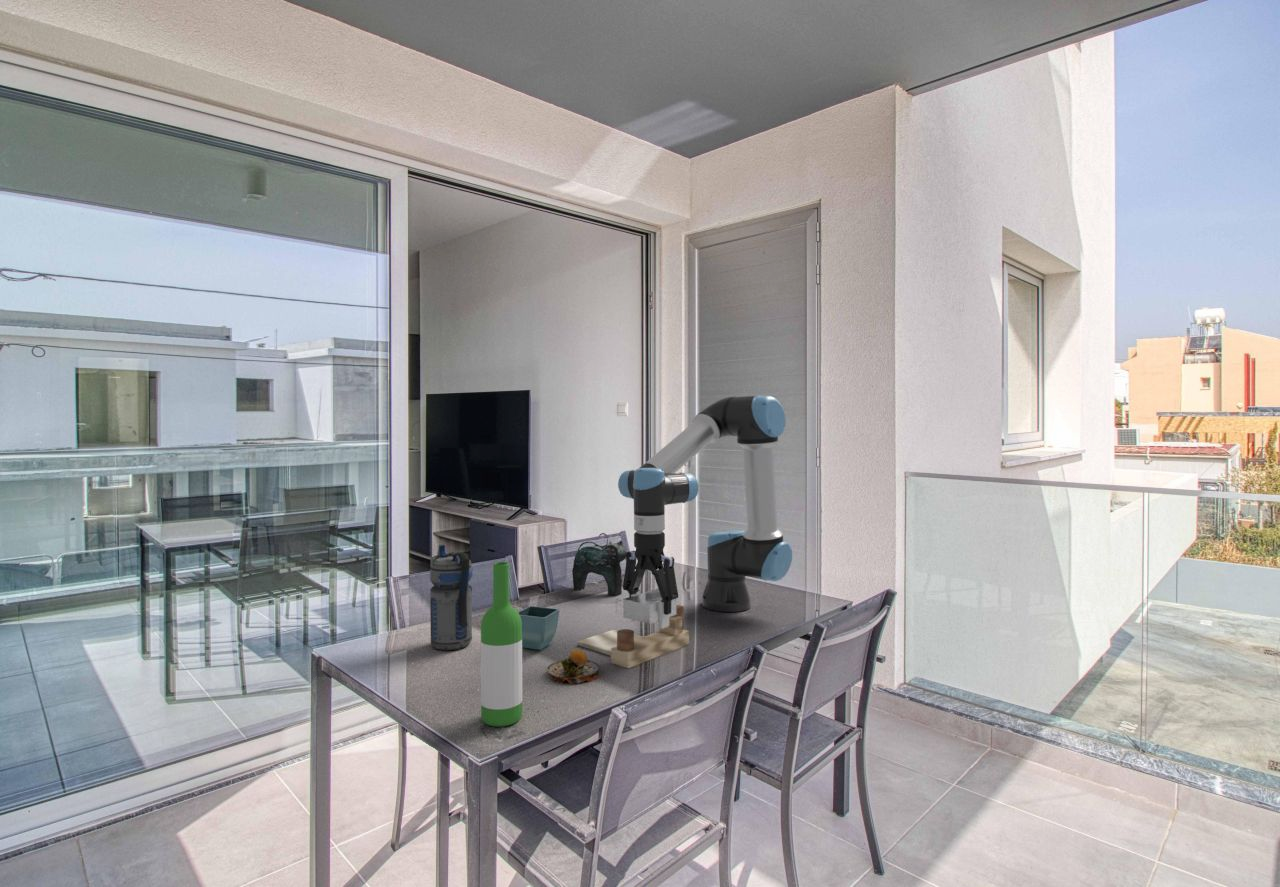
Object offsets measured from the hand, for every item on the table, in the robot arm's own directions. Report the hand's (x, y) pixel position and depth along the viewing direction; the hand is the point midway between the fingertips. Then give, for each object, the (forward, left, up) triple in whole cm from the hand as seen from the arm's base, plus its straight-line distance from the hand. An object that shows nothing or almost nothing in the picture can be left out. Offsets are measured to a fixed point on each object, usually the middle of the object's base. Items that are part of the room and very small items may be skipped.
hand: (650, 623), depth 166 cm
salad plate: (+22, -4, -8) cm, 24 cm away
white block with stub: (0, 0, +2) cm, 2 cm away
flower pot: (+15, -25, -8) cm, 30 cm away
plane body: (-1, 0, -8) cm, 8 cm away
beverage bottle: (+29, -41, -8) cm, 51 cm away
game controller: (-35, -53, -8) cm, 64 cm away
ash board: (0, -12, -8) cm, 14 cm away
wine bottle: (+47, +3, -8) cm, 48 cm away
